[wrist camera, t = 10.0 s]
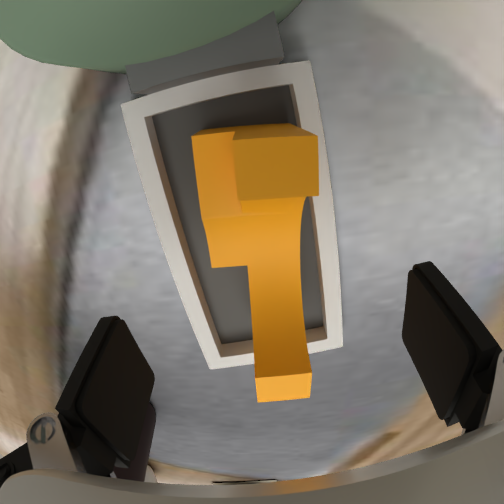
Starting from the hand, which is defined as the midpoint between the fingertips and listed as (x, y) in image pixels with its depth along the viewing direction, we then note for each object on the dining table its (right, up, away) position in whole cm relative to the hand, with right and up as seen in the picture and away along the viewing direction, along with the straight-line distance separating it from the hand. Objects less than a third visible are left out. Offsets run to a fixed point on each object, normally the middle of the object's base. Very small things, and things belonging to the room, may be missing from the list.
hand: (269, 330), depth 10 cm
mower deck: (-3, +11, +4) cm, 12 cm away
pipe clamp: (0, +3, +8) cm, 9 cm away
